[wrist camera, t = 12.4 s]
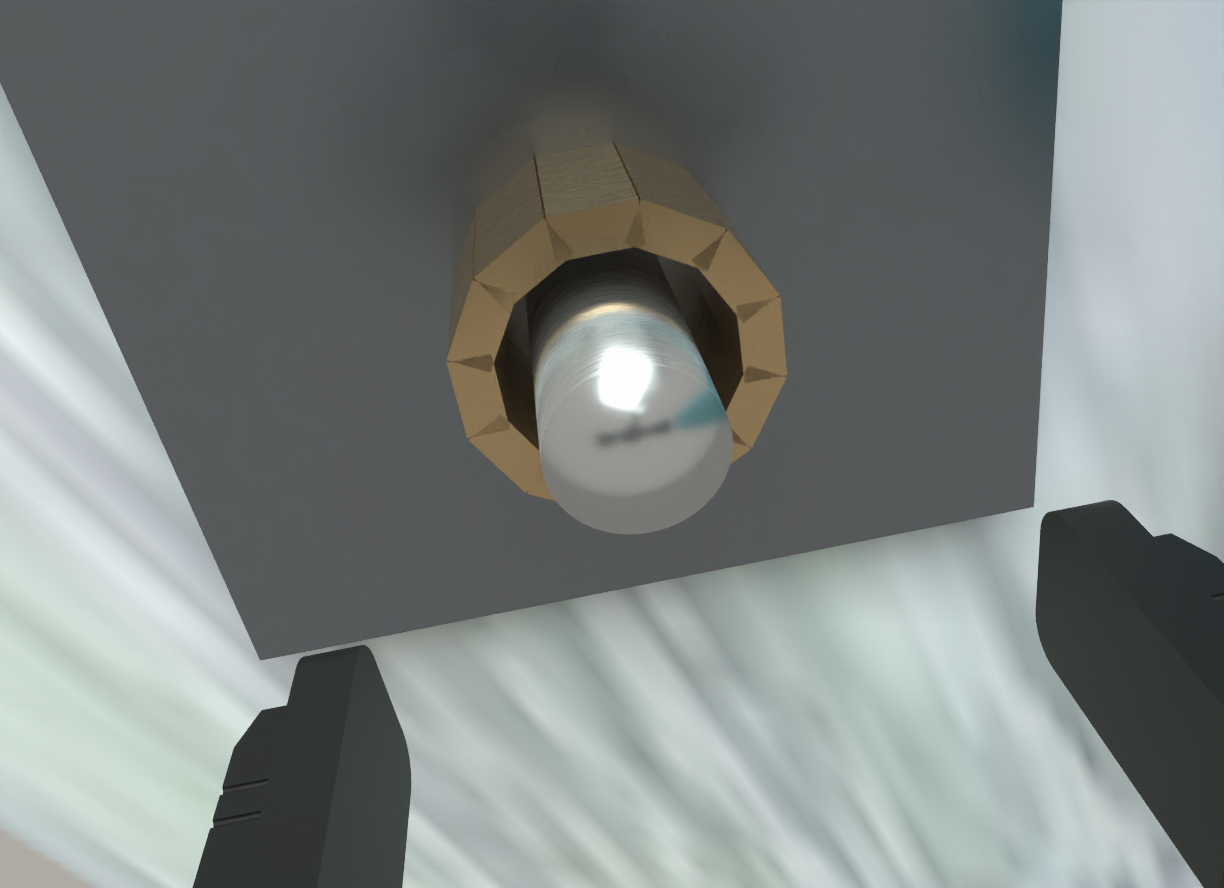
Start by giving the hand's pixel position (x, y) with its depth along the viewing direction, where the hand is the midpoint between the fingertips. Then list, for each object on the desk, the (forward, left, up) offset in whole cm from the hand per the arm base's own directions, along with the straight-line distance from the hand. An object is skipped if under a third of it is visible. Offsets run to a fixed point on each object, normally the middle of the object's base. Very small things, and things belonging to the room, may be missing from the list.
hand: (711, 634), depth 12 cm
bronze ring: (0, 0, -11) cm, 11 cm away
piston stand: (0, 0, -13) cm, 13 cm away
